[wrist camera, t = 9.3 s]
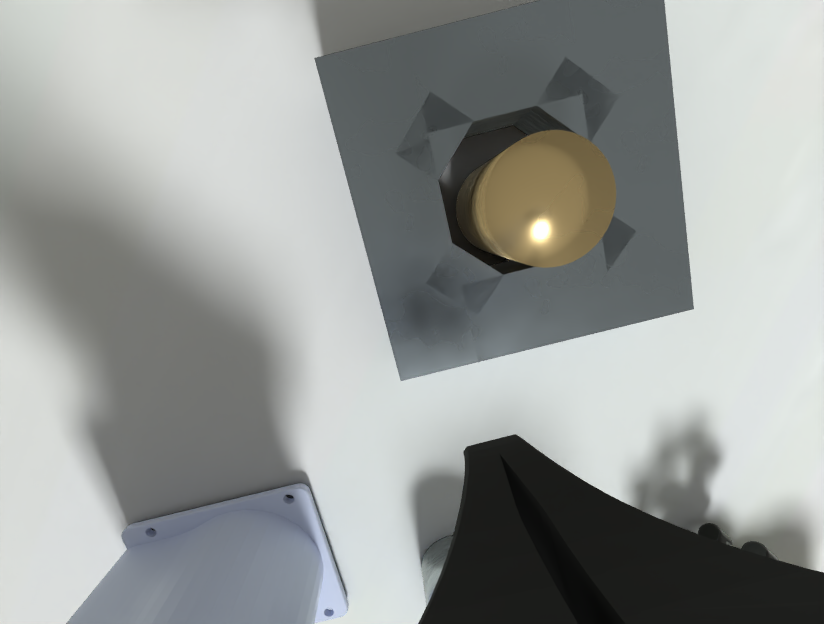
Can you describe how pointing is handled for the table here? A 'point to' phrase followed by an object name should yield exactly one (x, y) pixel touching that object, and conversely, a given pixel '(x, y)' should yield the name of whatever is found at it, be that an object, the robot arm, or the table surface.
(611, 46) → the plate
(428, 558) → the sleeve
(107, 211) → the table surface
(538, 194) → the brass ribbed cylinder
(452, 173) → the table surface
